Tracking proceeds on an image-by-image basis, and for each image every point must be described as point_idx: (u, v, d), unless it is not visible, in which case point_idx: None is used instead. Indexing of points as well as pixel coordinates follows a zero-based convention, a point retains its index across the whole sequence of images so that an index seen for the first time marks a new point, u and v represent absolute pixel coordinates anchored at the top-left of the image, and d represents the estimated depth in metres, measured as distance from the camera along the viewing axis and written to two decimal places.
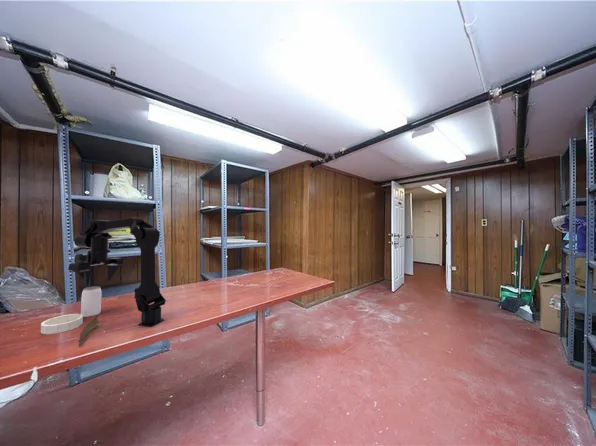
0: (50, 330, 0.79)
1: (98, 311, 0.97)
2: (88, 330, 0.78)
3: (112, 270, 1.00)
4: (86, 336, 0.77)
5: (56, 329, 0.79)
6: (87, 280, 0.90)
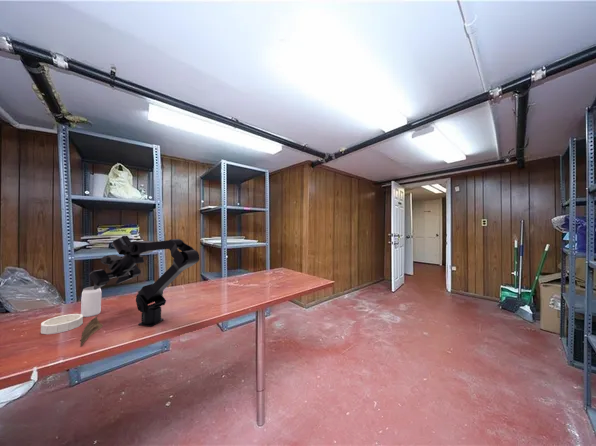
0: (50, 330, 0.79)
1: (98, 311, 0.97)
2: (89, 330, 0.78)
3: (125, 278, 0.99)
4: (87, 336, 0.77)
5: (56, 329, 0.79)
6: (98, 287, 0.90)
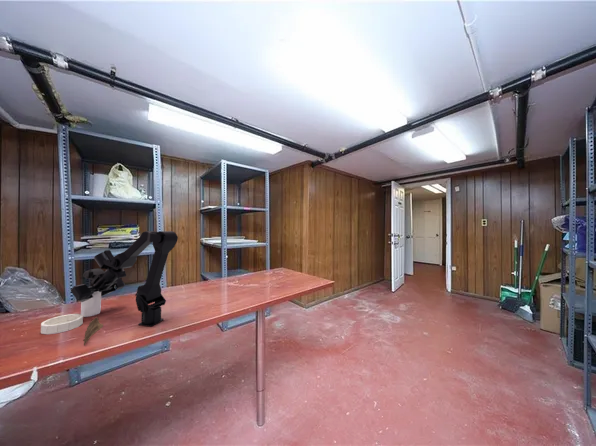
0: (50, 330, 0.79)
1: (98, 311, 0.97)
2: (90, 330, 0.78)
3: (104, 292, 0.99)
4: (89, 335, 0.77)
5: (56, 329, 0.79)
6: (85, 300, 0.93)
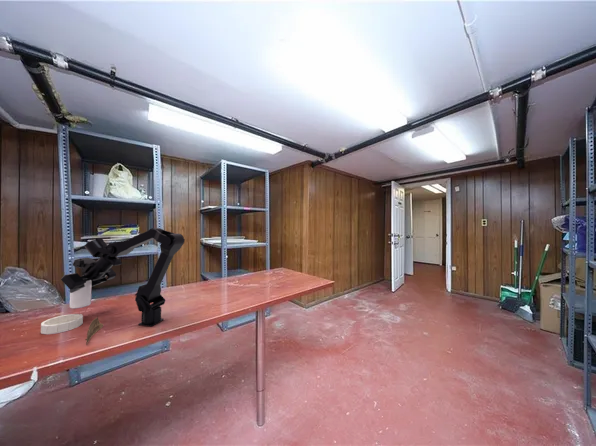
0: (50, 330, 0.79)
1: (89, 302, 0.93)
2: (92, 329, 0.78)
3: (95, 283, 0.95)
4: (90, 335, 0.77)
5: (56, 329, 0.79)
6: None
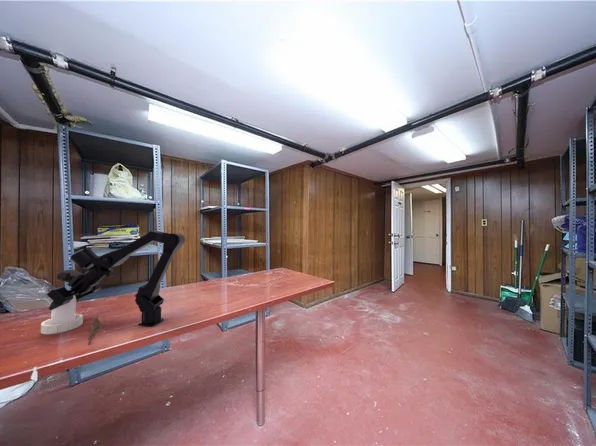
0: (50, 330, 0.79)
1: None
2: (93, 329, 0.79)
3: (81, 295, 0.89)
4: (92, 335, 0.77)
5: (56, 329, 0.79)
6: None
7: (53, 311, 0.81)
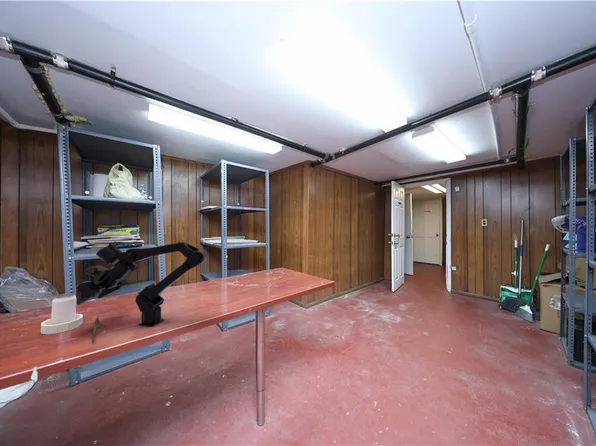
0: (50, 330, 0.79)
1: None
2: (95, 329, 0.79)
3: (109, 291, 0.92)
4: (94, 334, 0.78)
5: (56, 329, 0.79)
6: (83, 302, 0.82)
7: (53, 311, 0.81)
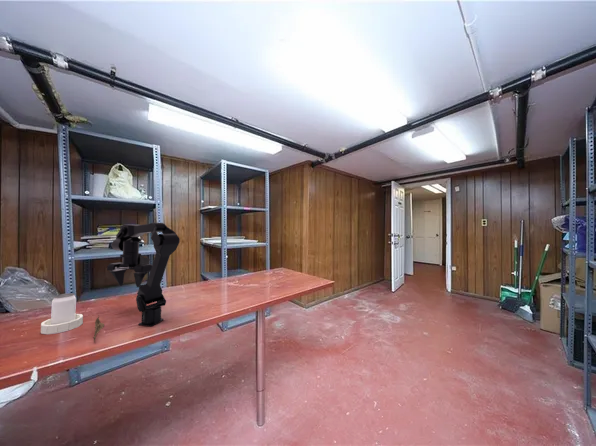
0: (50, 330, 0.79)
1: None
2: (95, 328, 0.79)
3: None
4: (95, 334, 0.78)
5: (56, 329, 0.79)
6: (117, 280, 0.96)
7: (53, 311, 0.81)
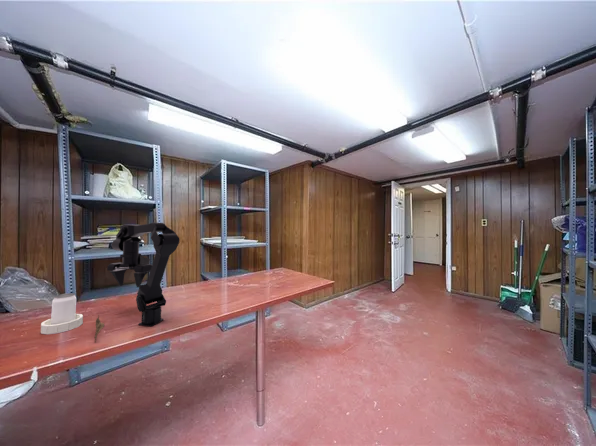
0: (50, 330, 0.79)
1: None
2: None
3: None
4: (96, 334, 0.78)
5: (56, 329, 0.79)
6: (117, 280, 0.96)
7: (53, 311, 0.81)
